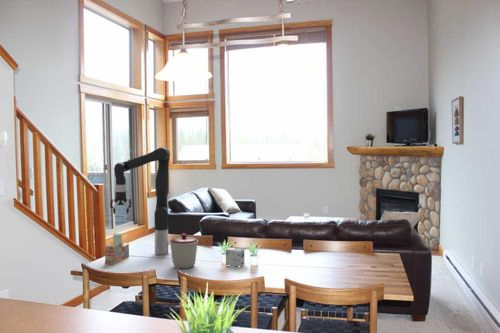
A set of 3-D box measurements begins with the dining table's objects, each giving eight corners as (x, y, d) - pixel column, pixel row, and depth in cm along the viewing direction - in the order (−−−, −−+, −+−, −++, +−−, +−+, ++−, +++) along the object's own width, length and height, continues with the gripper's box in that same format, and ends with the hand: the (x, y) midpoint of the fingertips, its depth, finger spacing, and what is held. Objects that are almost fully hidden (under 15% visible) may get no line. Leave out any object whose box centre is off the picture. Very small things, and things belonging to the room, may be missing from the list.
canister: (197, 262, 280) (197, 230, 279) (199, 270, 262) (199, 235, 262) (169, 263, 277) (169, 231, 276) (169, 271, 259) (169, 236, 258)
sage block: (121, 241, 285) (121, 232, 285) (121, 243, 280) (121, 234, 280) (113, 242, 284) (113, 233, 284) (113, 243, 279) (113, 234, 279)
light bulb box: (244, 265, 274) (244, 248, 274) (241, 267, 268) (241, 250, 268) (229, 263, 278) (229, 247, 278) (225, 266, 272) (225, 249, 271)
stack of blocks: (120, 256, 295) (120, 239, 295) (129, 257, 294) (129, 239, 293) (104, 264, 274) (104, 245, 274) (114, 265, 273) (113, 246, 272)
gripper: (131, 190, 309) (131, 212, 309) (110, 190, 306) (110, 213, 306) (130, 191, 302) (131, 214, 302) (109, 191, 298) (109, 214, 299)
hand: (120, 213), depth 304 cm, fingers open, 8 cm apart
